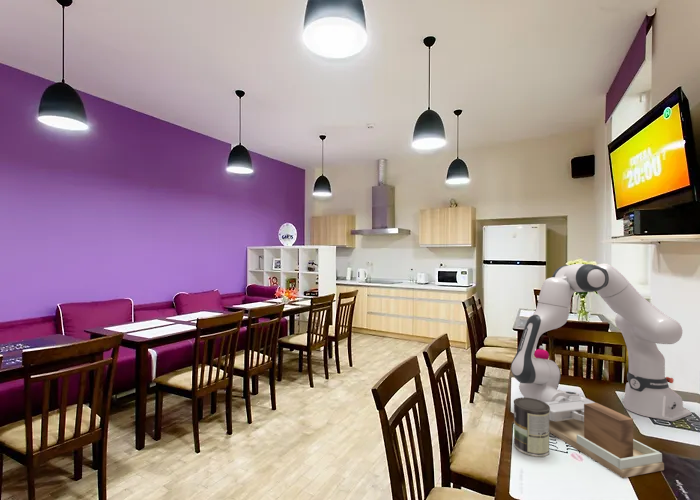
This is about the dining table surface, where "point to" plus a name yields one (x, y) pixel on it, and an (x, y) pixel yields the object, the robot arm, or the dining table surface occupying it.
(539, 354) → the pepper mill
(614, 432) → the walnut box
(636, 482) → the dining table surface
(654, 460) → the sage frame
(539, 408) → the coffee can
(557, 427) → the birch board
